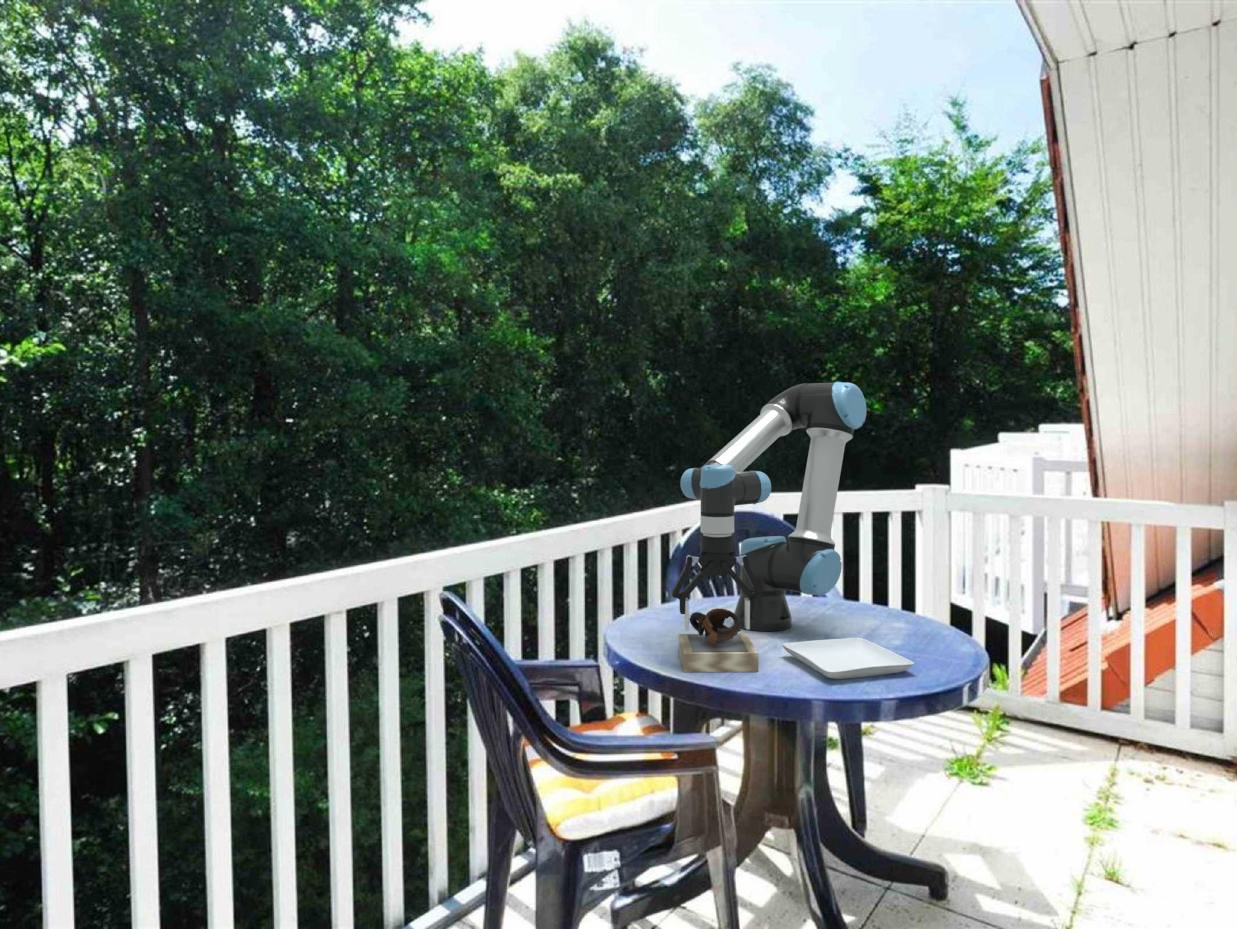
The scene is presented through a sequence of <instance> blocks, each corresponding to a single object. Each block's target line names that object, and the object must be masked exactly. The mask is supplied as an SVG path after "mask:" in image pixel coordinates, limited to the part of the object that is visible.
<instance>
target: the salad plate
mask: <svg viewBox="0 0 1237 929" xmlns="http://www.w3.org/2000/svg"><path fill="white" fill-rule="evenodd" d="M781 646H782V647H783V649H784V650H785V651H786V652H787V653H788V655H790V656H792V657H794V658H795V659H797V660H799V662H802V663H803V664H804V665H807V666H808V667H810V668H812V669H813V670H815V671H816V672H818V673H821V674H822V675H823V676H825V677H826V678H828V679H832V680H844V679H855V678H856V679H857V678H865V677H875V676H884V675H889V674H897V673H901V672H905V671H907V670H909V669H911V668H912V667H913V666H914V665H915V661H914V662H913V661H912V660H910V659H908V658H905V657H904V656H902V655H900V654H897V653H895V652H893V651H891V650H889V649H887V648H885V647H883V646H881V645H879V644H877V643H874V642H873V641H869V640H867V639H865V638H861V637H849V638H847V637H846V638H832V639H819V640H806V641H797V642H786V643H785V642H784V643H782V644H781Z"/></svg>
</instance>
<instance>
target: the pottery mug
mask: <svg viewBox="0 0 1237 929" xmlns="http://www.w3.org/2000/svg"><path fill="white" fill-rule="evenodd" d="M689 616H690V617H689V624H690V625H691V627H692V628H693V629H694V630H695V631H697V634H699V635H700V636H701V635H702V634H705V636H706V637H707V636H708V635H710V636H709V639H708V643H709V644H710V645H712V646H714V645H715V644H716V642H722V641H725V640H729V639H732V638H733V636H736V635H737V634H739V632H741V631H742V630H741V628H740V627H739V625H738V618H737V616H736V615H735V614H734V612H733V611H731V610H728V609H726V608H719V607H718V608H717V607H716V608H713V609H711V610H709V611H708V612H707V613H706V614H704V613H702V612H699V611H695V612H692V613H691V614H690V615H689ZM729 618H731V619H732V620H733V621H734V622H735V623H733V625H732V626H730V627H728V626H726V625H725V624H724V623H725V620H728V619H729Z"/></svg>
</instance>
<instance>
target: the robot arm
mask: <svg viewBox="0 0 1237 929" xmlns="http://www.w3.org/2000/svg"><path fill="white" fill-rule="evenodd" d="M759 414H760V415H758V416H757V417H756V418H755V419H754V420H753V421H752V422H750V424H748V425H747V426H746V427H744V429H743V430H741V432H739V433H738V434H737V435H736V436H734V438H733V439H732V440H730V441H729V442H728V443H727V444H726V445H725V446H723V447H722V449H720V450H719V451H718V452H717V453H715V455H713V456H712V457H711V458H710V459H709V460H708V461H707V462H706V463H705V464H704V465H702V466H701V467H694V468H693V467H692V468H688V469H686V470H685V471H684V472H683V474H681V475H682V476H681V478H680V482H679V483H680V489H681V491H682V494H683V495H684V496H685V497H686V498H688V499H692V500H693V499H694V500H697V501H700V533H701V535H700V536H699V539H700V540H699V541H700V542H699V543H700V544H699V545H700V546H699V548H700V549H699V550H700V552H699V556H691V555H690V554H687V555H686V557H685V563H684V564H685V565H684V566H683V568H682V570H681V572H680V575H679V576H678V579H677V580H676V582H675V585H674V586H673V588H672V590H671V596H672V597H673V598H675V599H678V600H679V612H680V613H679V614H680V615H683V616H684V620H683V621H684V623H683V624H684V630H687V631H688V630H690V620H689V619H690V617H689V616H690V600H689V598H688V597H689V595H691V593H692V592H693V591H694V590H695V589H696V587H697V586H698V585H699V584H700V582H702V581H703V580H704V579H705V578H706V576H707V575H708V576H709V577H717V576H719V577H725V576H727V575H729V576H730V577H731V579H733V581H734V582H735V583H736V585H738V587H739V588H740V594H739V598H738V600H737V603H736V607H735V610H734V612H733V613H734V614H735V615H736V616H737V618H738V625H739V627H740V629H745V630H751V631H758V632H774V631H776V632H777V631H782V630H783V631H784V630H786V629H789V628H790V627H792V626H793V625H792V624H793V623H792V622H793V619H792V617H793V616H792V614H791V611H790V607H789V604H788V601H787V598H786V591H791V592H797V593H801V594H805V595H811V596H812V595H813V596H814V595H815V596H824V595H826V594H828V593H830V592H831V591H832V589H834V588H835V586H836V585H837V583H838V582H839V579H840V577H841V573H842V566H843V565H842V561H841V560H842V559H841V555H840V553H839V552H838V551H836V550H835V547H836V543H835V541H834V540H833V539H832V537H831V533H832V529H833V528H832V527H833V520H834V514H835V509H836V504H837V502H836V501H837V496H838V490H839V484H840V477H841V471H842V466H843V460H844V453H845V447H846V443H848V442H849V441H851V440H852V439H853V437H854V431H855V430H857V429H860V428H861V427H863V424H865V421H866V418H867V403H866V398H865V397H864V393H863V392H862V390H861V389H860V387H858V386H857V385H856V384H854V383H852V382H841V381H835V382H817V383H816V382H813V383H810V382H807V383H799V384H796V385H794V386H792V387H790V388H787V389H786V390H784V391H782V392H781V393H779V394H777V395H776V396H775V397H773V398H772V399H770V400H769V401H768V402H767V403H766V404H765V405H764V406H762V407H761V409H760V413H759ZM803 428H804V429H805V428H806V433H807V435H808V437H809V438H810V443H809V447H808V448H809V449H808V453H807V454H808V455H807V462H806V465H805V466H806V467H805V473H804V478H803V483H802V484H803V485H802V491H801V497H800V503H799V509H798V515H797V520H796V527H795V530H794V531H793V532H792V533H790V534H788V536H787V540H786V537H785V536H782V535H773V536H768V535H767V536H760V537H758V536H757V537H750V538H747V539H743V541H742V542H741V544H740V554H739V556H736V555H735V536H734V535H733V534H734V533H735V507H736V506H747V505H756V504H760V503H763V502H766V500H768V498H769V497H770V495H771V492H772V483H771V479H770V478H769V476H768V474H766V473H764V472H762V471H759V470H749V471H744V470H746V468H748V466H750V465H751V464H752V463H753V462H754V461H755V460H756V459H757V458H758V457H759V456H760V455H761V454H762V453H763V452H765V451H766V450H767V449H768V448H770V446H771V445H772V444H773V443H774V442H775V441H776V440H778V438H780V437H784V436H787V435H788V434H790V433H791V432H793V430H797V429H803ZM697 563H698V564H699V565H700V566H701V568H700V569H699V570H698V572H697V573H696V575H695V576H694V577H693V578H692V579H691V580H690V582H689V583H688V584H687V585H686V586H685V588H684V589H682V588H683V586H684V584H685V582H686V580H687V578H688V576H689V574H690V572H691V570H692V567H695V566H696V564H697ZM736 563H738V564H739V566H740V567H739V568H740V569H739V571H740V573H739V574H740V575H738V574H737V573H736V572H735V571H734V570H733V568H734V566H735V564H736ZM739 576H740V577H739ZM681 590H682V591H681ZM734 623H735V622H734V620H733V624H734Z"/></svg>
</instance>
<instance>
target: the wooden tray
mask: <svg viewBox="0 0 1237 929" xmlns="http://www.w3.org/2000/svg"><path fill="white" fill-rule="evenodd" d="M709 636H710V635H708V636H707V637H706V636H705V633H703V634H702V635H701V636H700V635H699V633H678V642H677V643H678V646H677V647H678V654H679V658H680V661H681V666H682V669H683V672H684V673H717V672H718V673H731V672H732V673H733V672H734V673H735V672H736V673H737V672H738V673H748V672H749V673H750V672H755V673H758V672H759V662H760V661H759V656H760V655H759V652H758V650H757V648H756V646H755V645H754V644H753V643H754V642H752V640H751V639H750V637H749V635H748V634H747V633H737V635H736V636H733V638H732V639H729V640H725V641H722V642H716V644H715V645H714V646H712V645H710V644H709V643H708V639H709Z"/></svg>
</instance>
